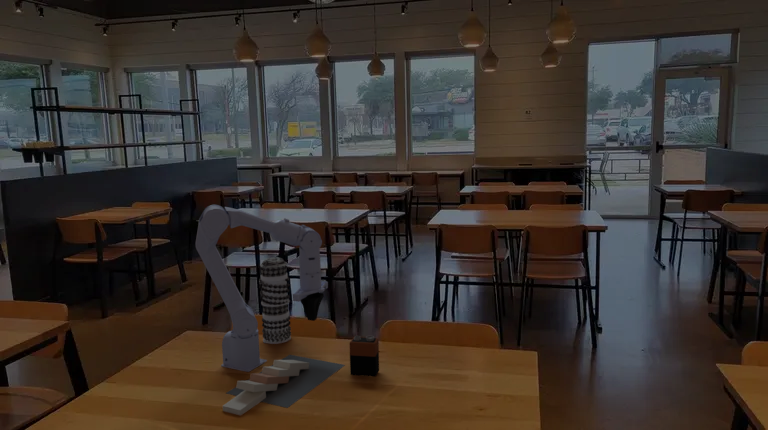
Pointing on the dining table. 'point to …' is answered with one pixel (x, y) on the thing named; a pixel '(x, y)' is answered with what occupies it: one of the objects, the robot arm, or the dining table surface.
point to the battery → (364, 356)
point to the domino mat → (298, 382)
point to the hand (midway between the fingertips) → (312, 319)
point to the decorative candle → (275, 301)
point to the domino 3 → (268, 378)
